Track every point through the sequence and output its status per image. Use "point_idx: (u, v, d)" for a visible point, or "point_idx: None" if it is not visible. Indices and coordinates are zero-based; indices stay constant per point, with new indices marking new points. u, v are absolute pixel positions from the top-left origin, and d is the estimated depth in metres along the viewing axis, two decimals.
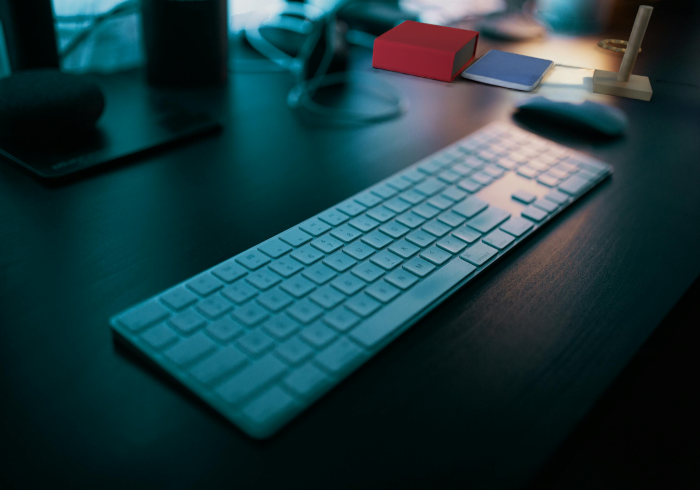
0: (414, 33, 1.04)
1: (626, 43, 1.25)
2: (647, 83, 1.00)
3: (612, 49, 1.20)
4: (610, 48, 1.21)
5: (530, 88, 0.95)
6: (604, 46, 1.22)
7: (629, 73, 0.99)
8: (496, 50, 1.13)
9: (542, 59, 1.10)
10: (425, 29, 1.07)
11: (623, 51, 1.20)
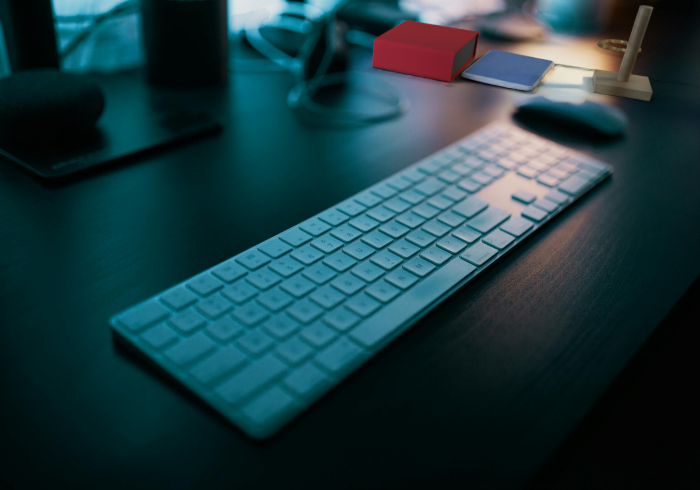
0: (414, 33, 1.04)
1: (626, 43, 1.25)
2: (647, 83, 1.00)
3: (612, 49, 1.20)
4: (610, 48, 1.21)
5: (530, 88, 0.95)
6: (604, 46, 1.22)
7: (629, 73, 0.99)
8: (496, 50, 1.13)
9: (542, 59, 1.10)
10: (425, 29, 1.07)
11: (623, 51, 1.20)
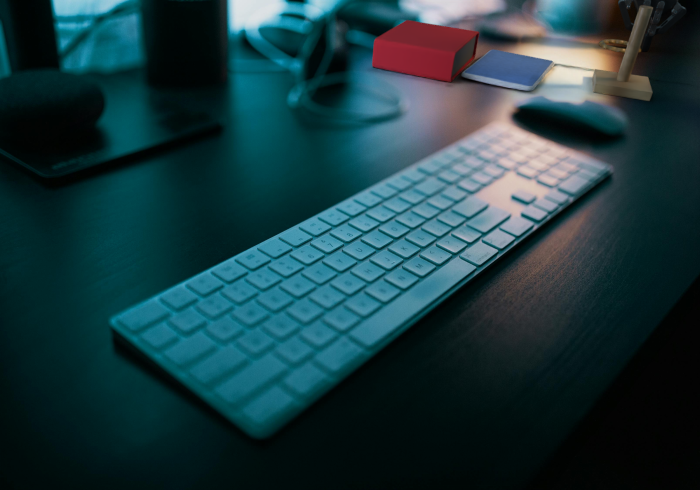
0: (414, 33, 1.04)
1: (626, 43, 1.25)
2: (647, 83, 1.00)
3: (612, 49, 1.20)
4: (610, 48, 1.21)
5: (530, 88, 0.95)
6: (604, 46, 1.22)
7: (629, 73, 0.99)
8: (496, 50, 1.13)
9: (542, 59, 1.10)
10: (425, 29, 1.07)
11: (623, 51, 1.20)
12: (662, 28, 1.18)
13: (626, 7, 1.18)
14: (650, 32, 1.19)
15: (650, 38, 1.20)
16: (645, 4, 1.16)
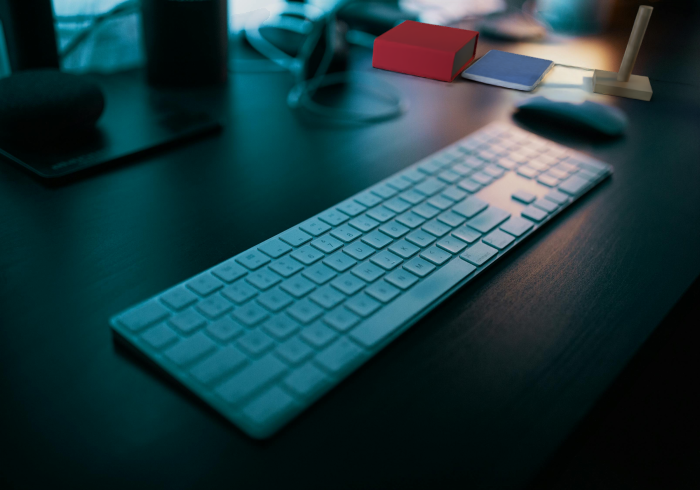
0: (414, 33, 1.04)
1: None
2: (647, 83, 1.00)
3: None
4: None
5: (530, 88, 0.95)
6: None
7: (629, 73, 0.99)
8: (496, 50, 1.13)
9: (542, 59, 1.10)
10: (425, 29, 1.07)
11: None
12: None
13: None
14: None
15: None
16: None
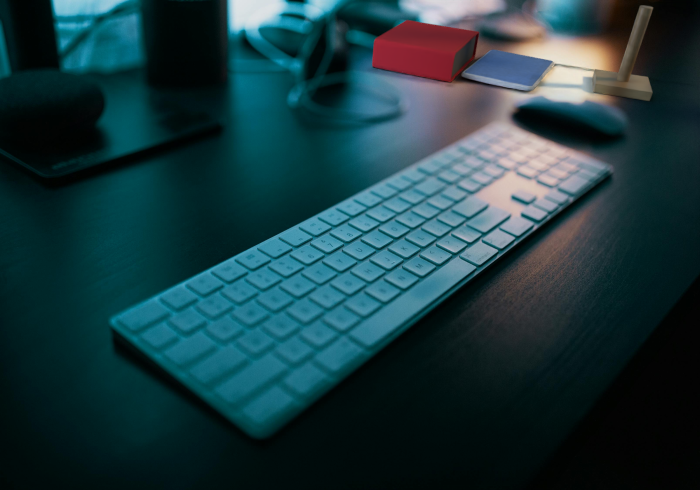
0: (414, 33, 1.04)
1: None
2: (647, 83, 1.00)
3: None
4: None
5: (530, 88, 0.95)
6: None
7: (629, 73, 0.99)
8: (496, 50, 1.13)
9: (542, 59, 1.10)
10: (425, 29, 1.07)
11: None
12: None
13: None
14: None
15: None
16: None
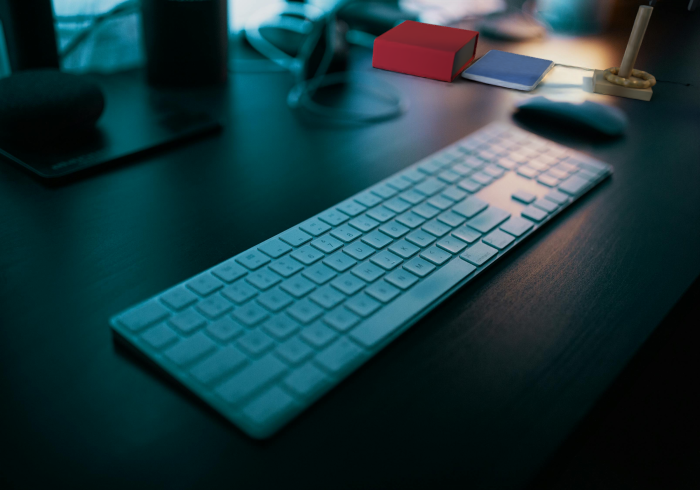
0: (414, 33, 1.04)
1: (637, 72, 1.02)
2: None
3: (620, 81, 0.97)
4: (618, 80, 0.97)
5: (530, 88, 0.95)
6: (610, 77, 0.98)
7: (629, 73, 0.99)
8: (496, 50, 1.13)
9: (542, 59, 1.10)
10: (425, 29, 1.07)
11: (634, 84, 0.96)
12: None
13: None
14: None
15: None
16: None
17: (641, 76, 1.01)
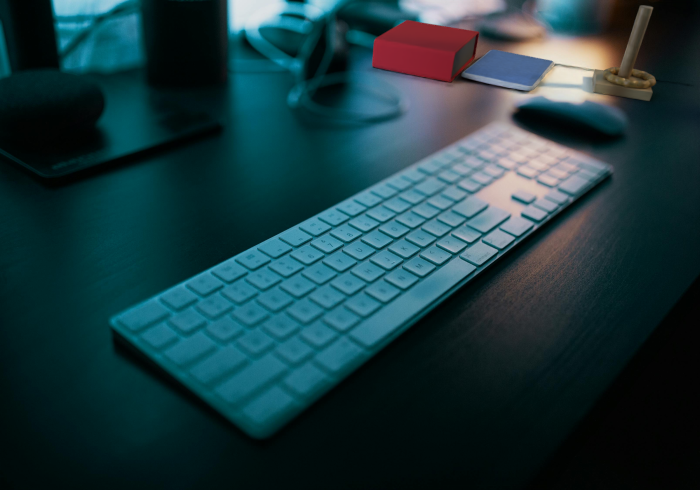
0: (414, 33, 1.04)
1: (637, 72, 1.02)
2: None
3: (620, 81, 0.97)
4: (618, 80, 0.97)
5: (530, 88, 0.95)
6: (610, 77, 0.98)
7: (629, 73, 0.99)
8: (496, 50, 1.13)
9: (542, 59, 1.10)
10: (425, 29, 1.07)
11: (634, 84, 0.96)
12: None
13: None
14: None
15: None
16: None
17: (641, 76, 1.01)
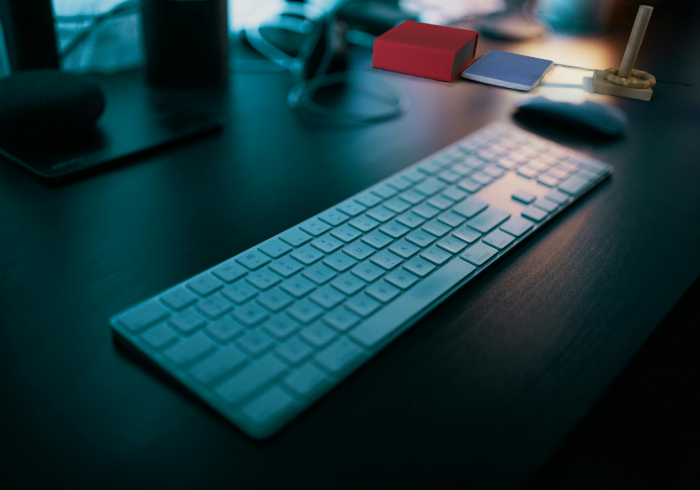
0: (414, 33, 1.04)
1: (637, 72, 1.02)
2: None
3: (620, 81, 0.97)
4: (618, 80, 0.97)
5: (530, 88, 0.95)
6: (610, 77, 0.98)
7: (629, 73, 0.99)
8: (496, 50, 1.13)
9: (542, 59, 1.10)
10: (425, 29, 1.07)
11: (634, 84, 0.96)
12: None
13: None
14: None
15: None
16: None
17: (641, 76, 1.01)
